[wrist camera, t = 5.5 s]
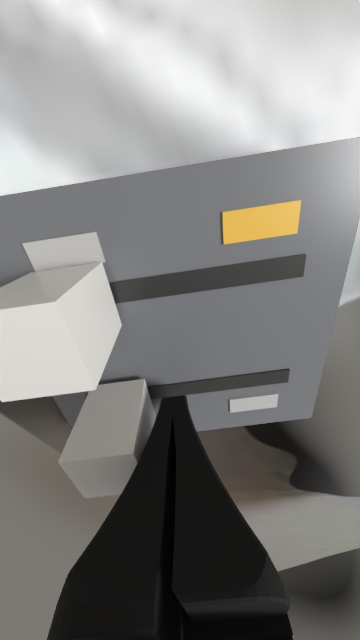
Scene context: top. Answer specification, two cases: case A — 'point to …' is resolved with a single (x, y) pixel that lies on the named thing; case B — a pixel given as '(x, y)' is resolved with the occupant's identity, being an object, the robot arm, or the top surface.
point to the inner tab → (108, 438)
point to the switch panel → (207, 274)
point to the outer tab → (56, 332)
